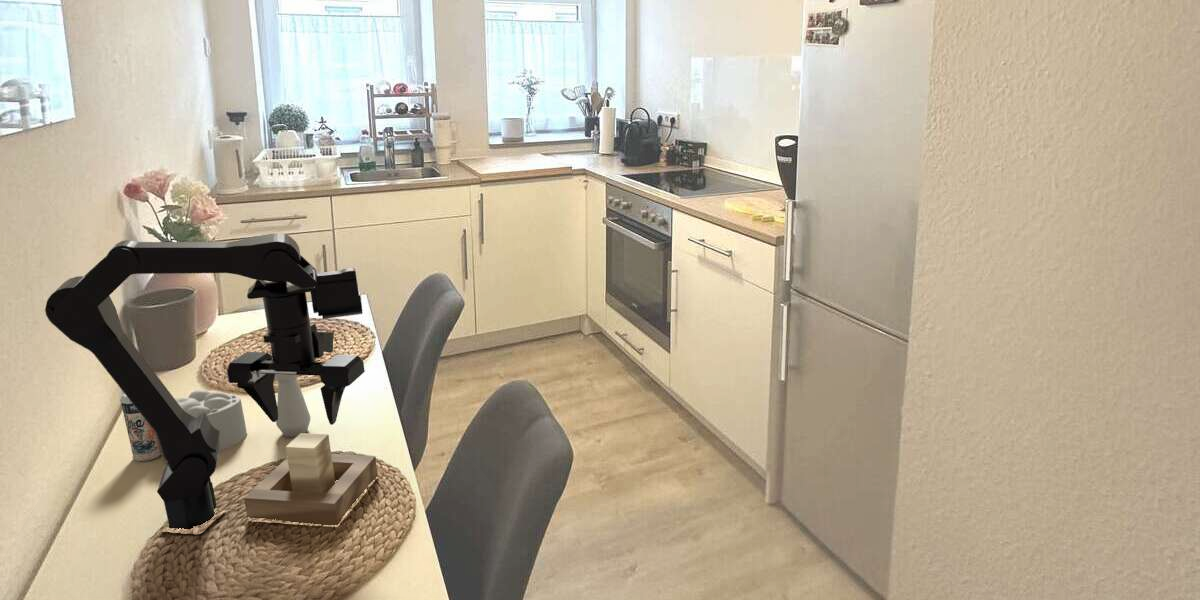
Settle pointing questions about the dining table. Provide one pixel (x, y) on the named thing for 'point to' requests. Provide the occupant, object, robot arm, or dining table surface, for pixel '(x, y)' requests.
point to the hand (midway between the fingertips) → (304, 422)
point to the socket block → (307, 507)
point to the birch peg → (310, 463)
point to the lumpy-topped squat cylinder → (218, 414)
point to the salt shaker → (291, 406)
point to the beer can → (140, 433)
